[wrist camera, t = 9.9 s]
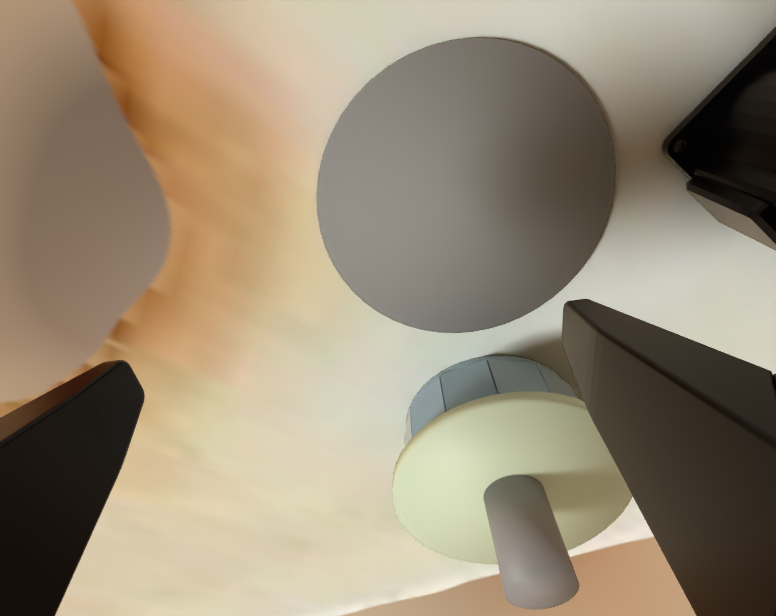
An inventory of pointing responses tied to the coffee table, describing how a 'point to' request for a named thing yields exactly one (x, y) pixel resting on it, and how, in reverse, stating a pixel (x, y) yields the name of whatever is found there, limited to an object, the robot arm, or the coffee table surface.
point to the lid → (511, 489)
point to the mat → (465, 185)
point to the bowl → (479, 386)
